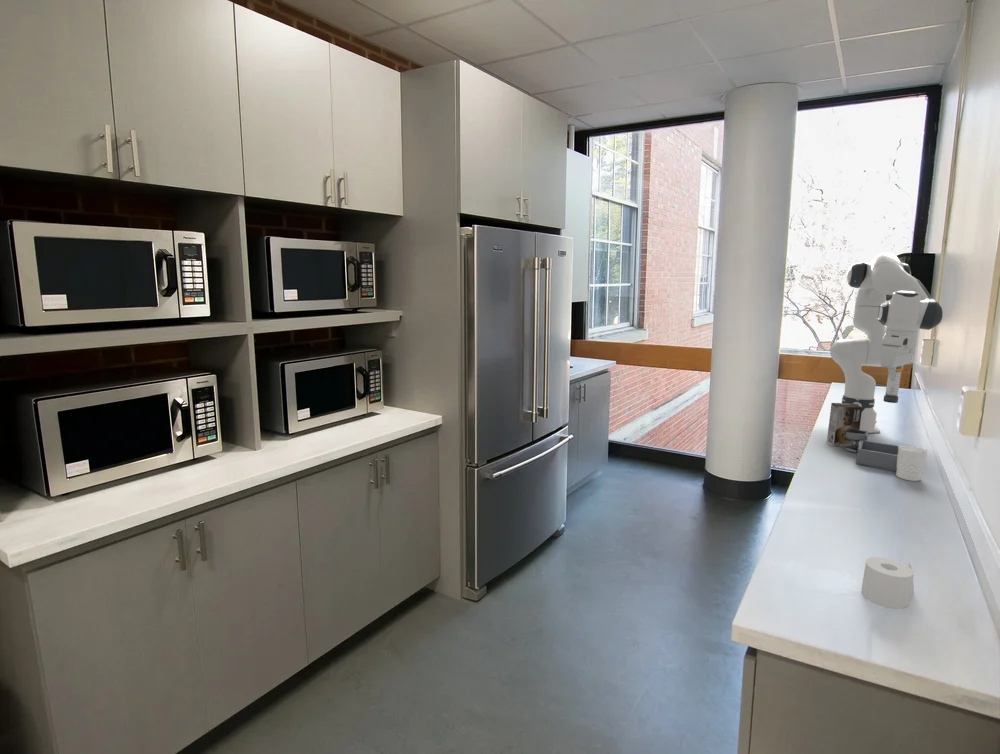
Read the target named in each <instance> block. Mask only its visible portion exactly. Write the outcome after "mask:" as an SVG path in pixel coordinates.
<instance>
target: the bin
mask: <svg viewBox="0 0 1000 754" xmlns="http://www.w3.org/2000/svg"><path fill="white" fill-rule="evenodd" d="M898 446H899V445H897V444H896V445H895V444H889V443H882V442H879V441H878V442H877V441H870V440H867V441H865V440H861V441H860V444H859V448H858V453H856V454H857V455H856V460H855V465H856V466H857V465H858V466H863V467H869V468H875V469H881V470H886V471H891V472H896V471H897V455H898Z"/></svg>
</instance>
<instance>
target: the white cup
mask: <svg viewBox="0 0 1000 754" xmlns="http://www.w3.org/2000/svg"><path fill="white" fill-rule="evenodd" d="M897 446H898V455H897V471H895V472H896V473H895V477H897V478H899V479H902V480H907V481H913V482H918V481H921V479H922V474H923V471H924V468H925V464H926V460H927V455H928V450H927V449H925V448H923V447H919V446H915V445H907V444H906V445H905V444H903V445H901V444H900V445H897Z"/></svg>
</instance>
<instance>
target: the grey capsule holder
mask: <svg viewBox="0 0 1000 754" xmlns="http://www.w3.org/2000/svg"><path fill="white" fill-rule="evenodd" d="M868 432H869V431H862V430H856V429H849V428H848V429H847V431H846V437H847V438H848V439H852V446H845V451H846V452H848V453H852V454H857V453H858V448H859V445H860V442H861V440H865V441H868V437H869V433H868Z"/></svg>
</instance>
